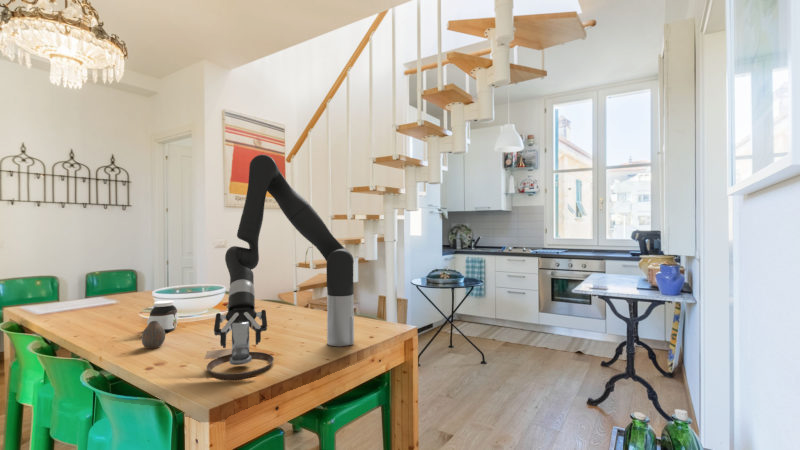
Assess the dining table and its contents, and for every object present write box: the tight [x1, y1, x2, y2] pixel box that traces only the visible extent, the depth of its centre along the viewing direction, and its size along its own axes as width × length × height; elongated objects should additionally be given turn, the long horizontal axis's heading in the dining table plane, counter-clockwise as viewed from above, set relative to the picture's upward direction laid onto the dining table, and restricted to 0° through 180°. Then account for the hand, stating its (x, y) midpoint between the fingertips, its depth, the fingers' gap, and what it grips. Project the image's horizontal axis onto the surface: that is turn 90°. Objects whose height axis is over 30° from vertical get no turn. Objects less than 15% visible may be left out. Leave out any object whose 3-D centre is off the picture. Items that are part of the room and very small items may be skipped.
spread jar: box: [146, 300, 178, 334], centre depth 154 cm, size 12×11×12 cm
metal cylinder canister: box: [229, 321, 253, 366], centre depth 109 cm, size 6×6×11 cm
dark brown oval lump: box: [140, 321, 166, 350], centre depth 132 cm, size 7×7×9 cm
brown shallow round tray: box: [206, 351, 275, 382], centre depth 109 cm, size 18×18×3 cm
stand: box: [204, 348, 232, 360], centre depth 122 cm, size 8×8×1 cm
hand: (240, 344), depth 108 cm, fingers open, 8 cm apart
